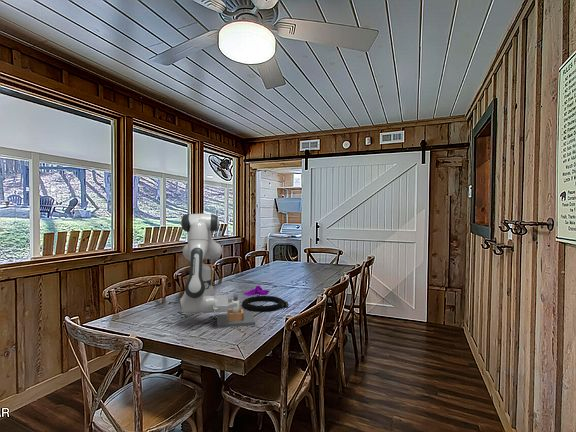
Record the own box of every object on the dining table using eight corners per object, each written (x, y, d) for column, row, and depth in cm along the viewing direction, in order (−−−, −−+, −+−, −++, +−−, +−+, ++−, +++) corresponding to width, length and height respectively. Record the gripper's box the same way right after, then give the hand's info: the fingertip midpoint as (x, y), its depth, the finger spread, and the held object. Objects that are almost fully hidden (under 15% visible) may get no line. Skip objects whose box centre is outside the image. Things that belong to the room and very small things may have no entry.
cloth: (240, 296, 236) (240, 287, 236) (248, 290, 254) (248, 282, 254) (270, 298, 231) (270, 289, 231) (276, 291, 249) (276, 283, 249)
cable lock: (249, 293, 227) (292, 296, 221) (249, 299, 227) (292, 302, 221) (235, 304, 200) (283, 308, 194) (235, 311, 200) (283, 314, 194)
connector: (230, 318, 181) (230, 294, 181) (237, 316, 184) (237, 293, 183) (233, 320, 178) (233, 296, 178) (240, 318, 180) (240, 295, 180)
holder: (217, 327, 171) (217, 317, 171) (216, 317, 186) (216, 308, 186) (255, 324, 175) (255, 314, 175) (251, 315, 191) (251, 306, 191)
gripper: (210, 303, 168) (238, 302, 171) (211, 293, 188) (235, 292, 191) (210, 315, 168) (238, 314, 171) (211, 304, 188) (235, 303, 191)
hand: (236, 302), depth 181 cm, fingers open, 8 cm apart
